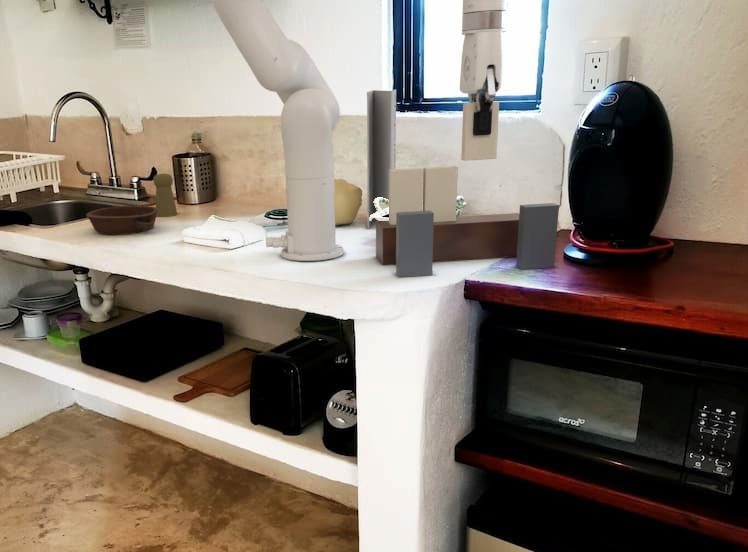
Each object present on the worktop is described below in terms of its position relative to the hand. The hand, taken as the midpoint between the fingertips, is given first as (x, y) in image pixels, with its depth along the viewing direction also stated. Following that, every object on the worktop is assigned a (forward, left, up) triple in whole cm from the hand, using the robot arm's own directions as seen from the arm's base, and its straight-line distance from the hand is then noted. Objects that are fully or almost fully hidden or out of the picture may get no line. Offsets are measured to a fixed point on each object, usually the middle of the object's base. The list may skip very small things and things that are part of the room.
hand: (479, 133), depth 141 cm
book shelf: (-5, 0, -23) cm, 23 cm away
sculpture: (-22, +41, -23) cm, 52 cm away
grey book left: (-15, -12, -23) cm, 29 cm away
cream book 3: (0, 0, -5) cm, 5 cm away
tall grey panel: (-11, +39, -23) cm, 47 cm away
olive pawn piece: (-65, +71, -23) cm, 99 cm away
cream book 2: (-7, 0, -16) cm, 17 cm away
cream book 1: (-14, 0, -16) cm, 21 cm away
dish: (-74, +50, -23) cm, 92 cm away
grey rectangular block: (+7, -12, -23) cm, 26 cm away
